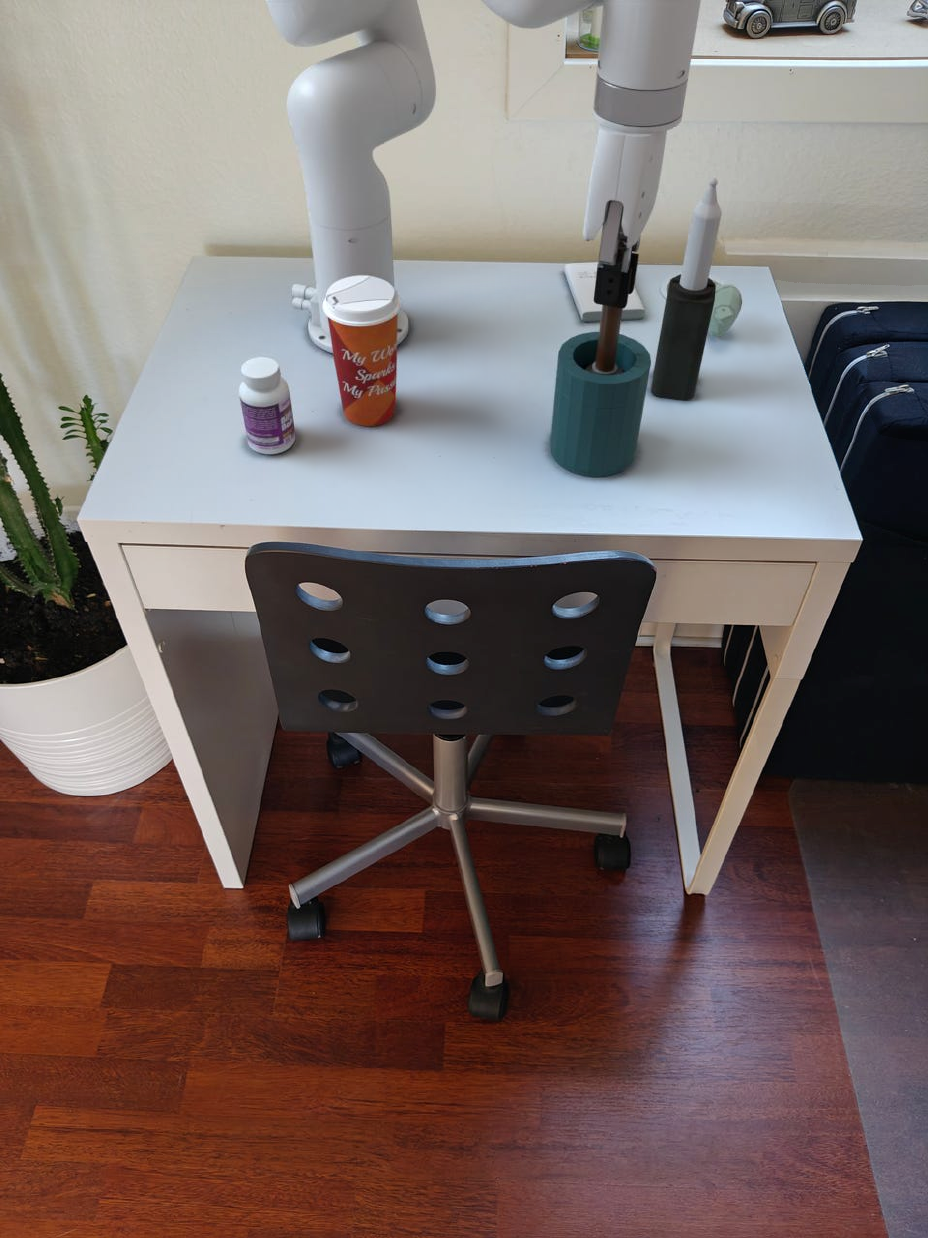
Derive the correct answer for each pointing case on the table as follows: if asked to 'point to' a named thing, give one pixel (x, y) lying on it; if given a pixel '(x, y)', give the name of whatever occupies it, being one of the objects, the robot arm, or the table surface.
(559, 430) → the teal hollow cylinder
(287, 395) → the pill bottle
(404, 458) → the table surface
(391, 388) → the coffee cup
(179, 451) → the table surface
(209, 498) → the table surface
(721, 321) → the green toy fish
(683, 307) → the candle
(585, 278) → the hard drive
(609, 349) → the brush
